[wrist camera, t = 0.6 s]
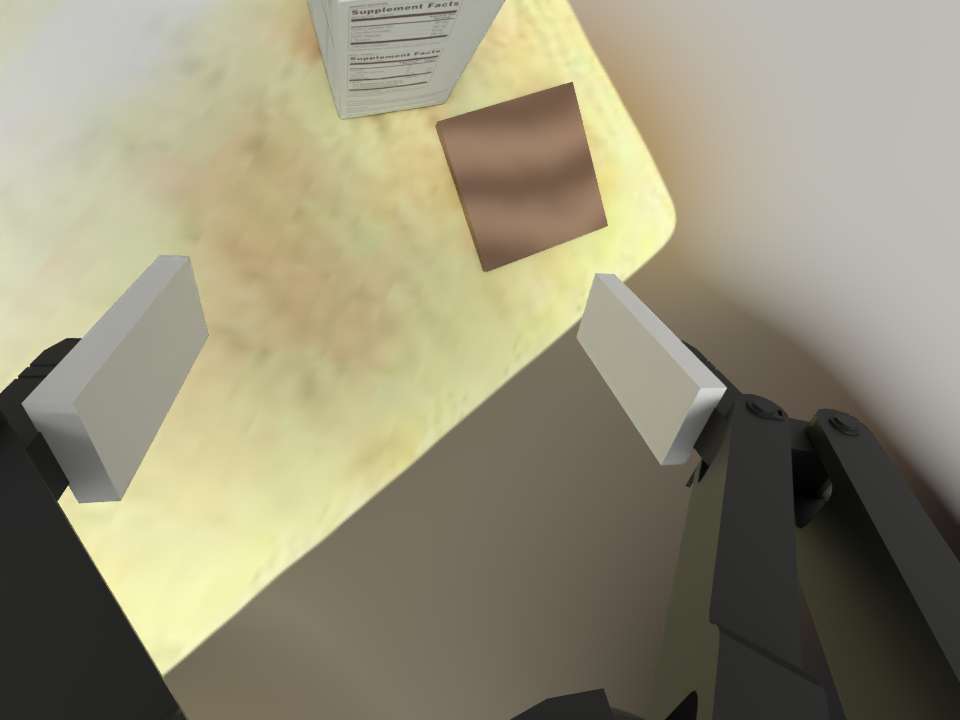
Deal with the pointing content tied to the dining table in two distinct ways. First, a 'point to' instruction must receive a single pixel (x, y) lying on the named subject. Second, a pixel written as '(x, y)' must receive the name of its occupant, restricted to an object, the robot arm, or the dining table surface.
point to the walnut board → (523, 175)
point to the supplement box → (397, 49)
